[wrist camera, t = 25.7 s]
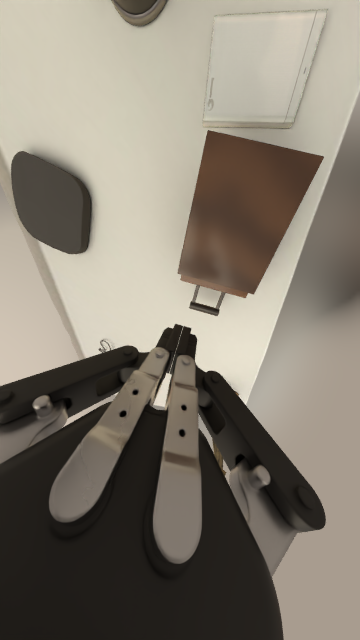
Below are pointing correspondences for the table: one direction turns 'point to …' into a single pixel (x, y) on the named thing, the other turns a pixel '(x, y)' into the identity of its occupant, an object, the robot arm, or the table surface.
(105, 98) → the table surface
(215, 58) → the hard drive
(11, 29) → the table surface
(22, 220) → the media streaming box
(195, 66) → the table surface
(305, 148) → the table surface
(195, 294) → the drawer
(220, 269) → the cabinet
